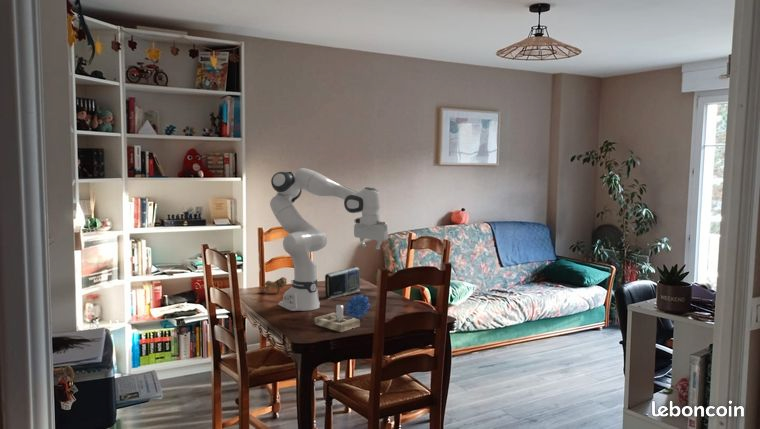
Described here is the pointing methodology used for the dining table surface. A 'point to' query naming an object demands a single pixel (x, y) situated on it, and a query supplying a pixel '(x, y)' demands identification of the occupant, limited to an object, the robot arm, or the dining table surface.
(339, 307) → the plug
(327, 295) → the radio
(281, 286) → the lion figurine
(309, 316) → the dining table surface
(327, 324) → the socket block
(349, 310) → the grapes
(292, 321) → the dining table surface
